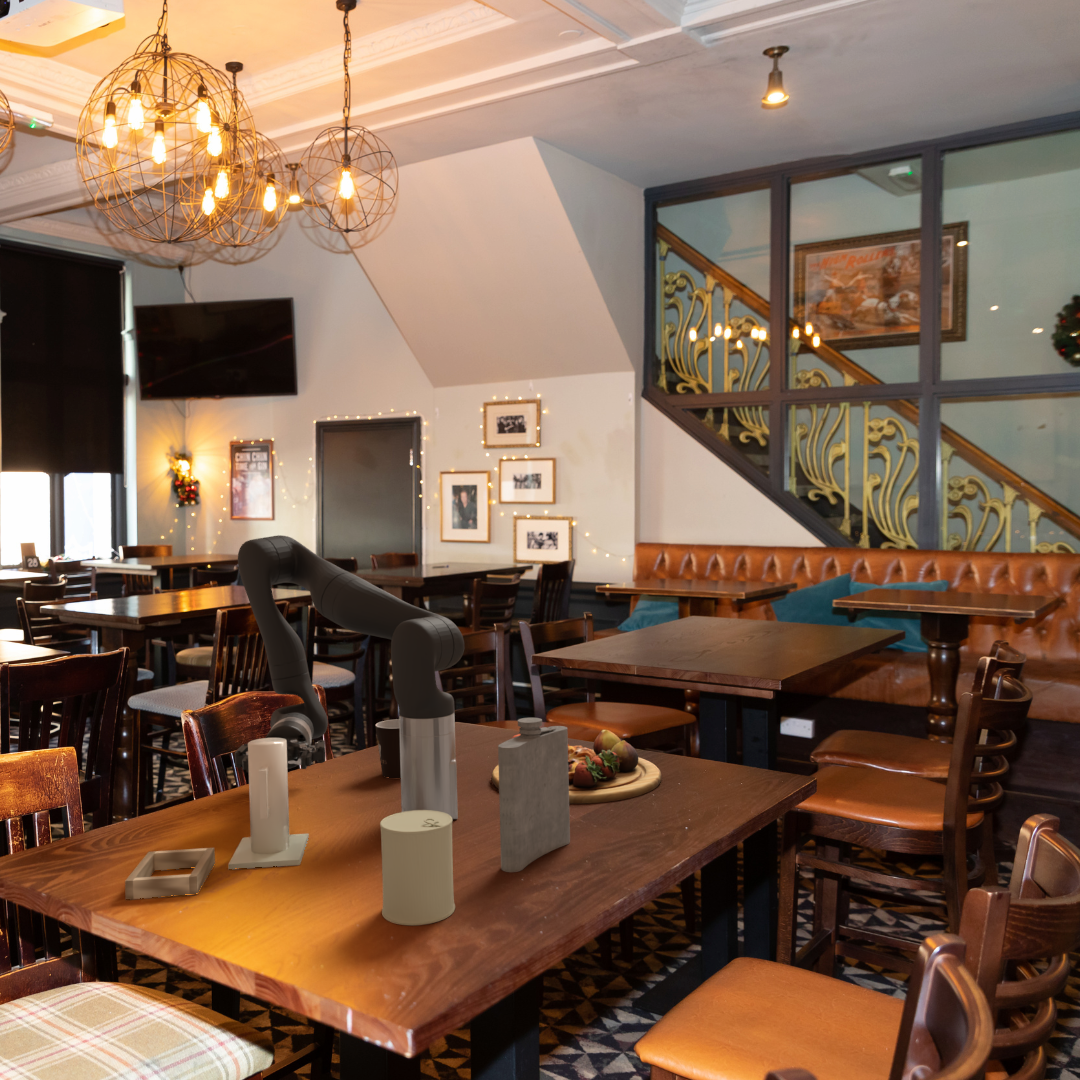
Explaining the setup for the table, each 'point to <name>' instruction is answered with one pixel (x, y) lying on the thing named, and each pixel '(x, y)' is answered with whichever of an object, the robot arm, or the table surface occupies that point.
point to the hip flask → (533, 793)
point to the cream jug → (268, 795)
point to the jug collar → (159, 886)
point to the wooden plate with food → (605, 771)
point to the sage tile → (284, 858)
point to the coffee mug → (389, 747)
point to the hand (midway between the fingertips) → (275, 764)
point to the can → (417, 867)
